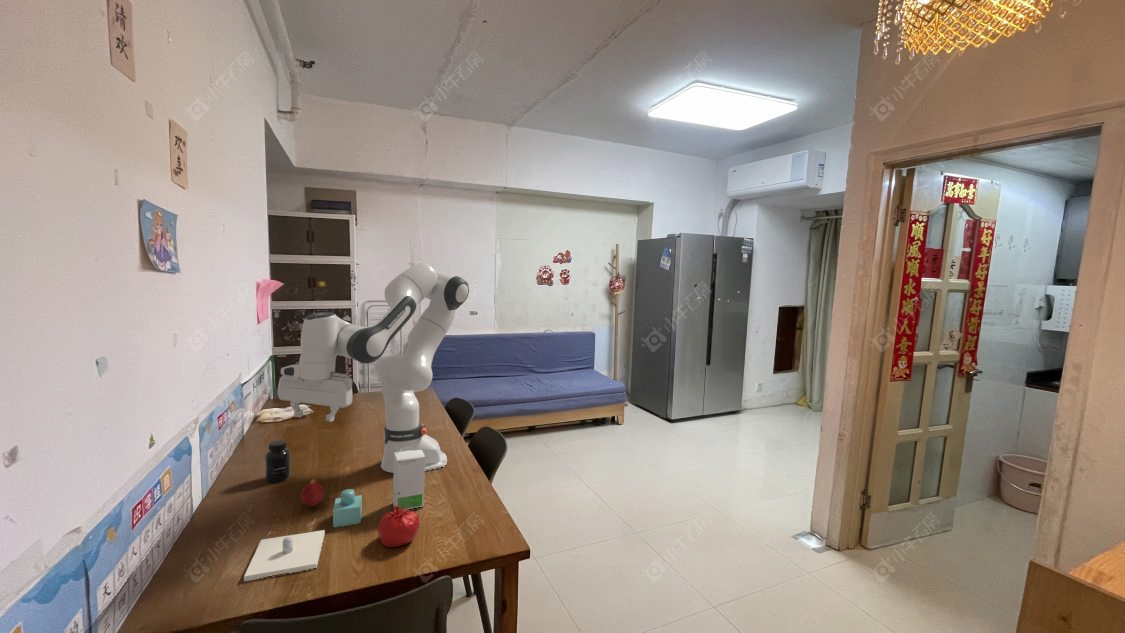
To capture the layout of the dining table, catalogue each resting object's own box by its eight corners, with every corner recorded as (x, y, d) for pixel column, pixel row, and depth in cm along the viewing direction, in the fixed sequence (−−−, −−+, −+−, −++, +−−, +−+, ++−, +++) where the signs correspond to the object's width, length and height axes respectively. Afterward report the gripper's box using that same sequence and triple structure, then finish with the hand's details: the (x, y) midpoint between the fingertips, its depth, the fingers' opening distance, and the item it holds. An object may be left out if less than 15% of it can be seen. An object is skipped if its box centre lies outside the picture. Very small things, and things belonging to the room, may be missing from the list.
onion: (308, 514, 124) (307, 486, 123) (297, 507, 127) (296, 480, 126) (328, 505, 129) (327, 479, 128) (317, 499, 132) (316, 473, 131)
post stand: (324, 534, 115) (324, 517, 115) (316, 568, 102) (316, 549, 102) (261, 544, 110) (260, 526, 110) (244, 581, 97) (243, 561, 97)
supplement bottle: (278, 484, 140) (277, 448, 139) (260, 481, 141) (259, 445, 140) (295, 475, 147) (294, 440, 145) (277, 472, 148) (277, 437, 147)
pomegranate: (418, 548, 111) (419, 513, 110) (375, 554, 108) (375, 518, 107) (419, 526, 121) (420, 494, 120) (380, 531, 118) (380, 498, 117)
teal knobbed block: (361, 511, 127) (361, 485, 126) (360, 523, 121) (360, 496, 120) (336, 514, 124) (335, 488, 124) (333, 527, 118) (332, 499, 118)
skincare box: (395, 513, 126) (395, 461, 125) (392, 502, 132) (392, 452, 131) (425, 507, 130) (425, 456, 129) (421, 496, 136) (421, 448, 135)
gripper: (358, 372, 126) (355, 420, 126) (291, 364, 127) (288, 411, 128) (345, 376, 119) (342, 427, 120) (275, 368, 121) (272, 417, 122)
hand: (314, 418), depth 124 cm, fingers open, 8 cm apart
